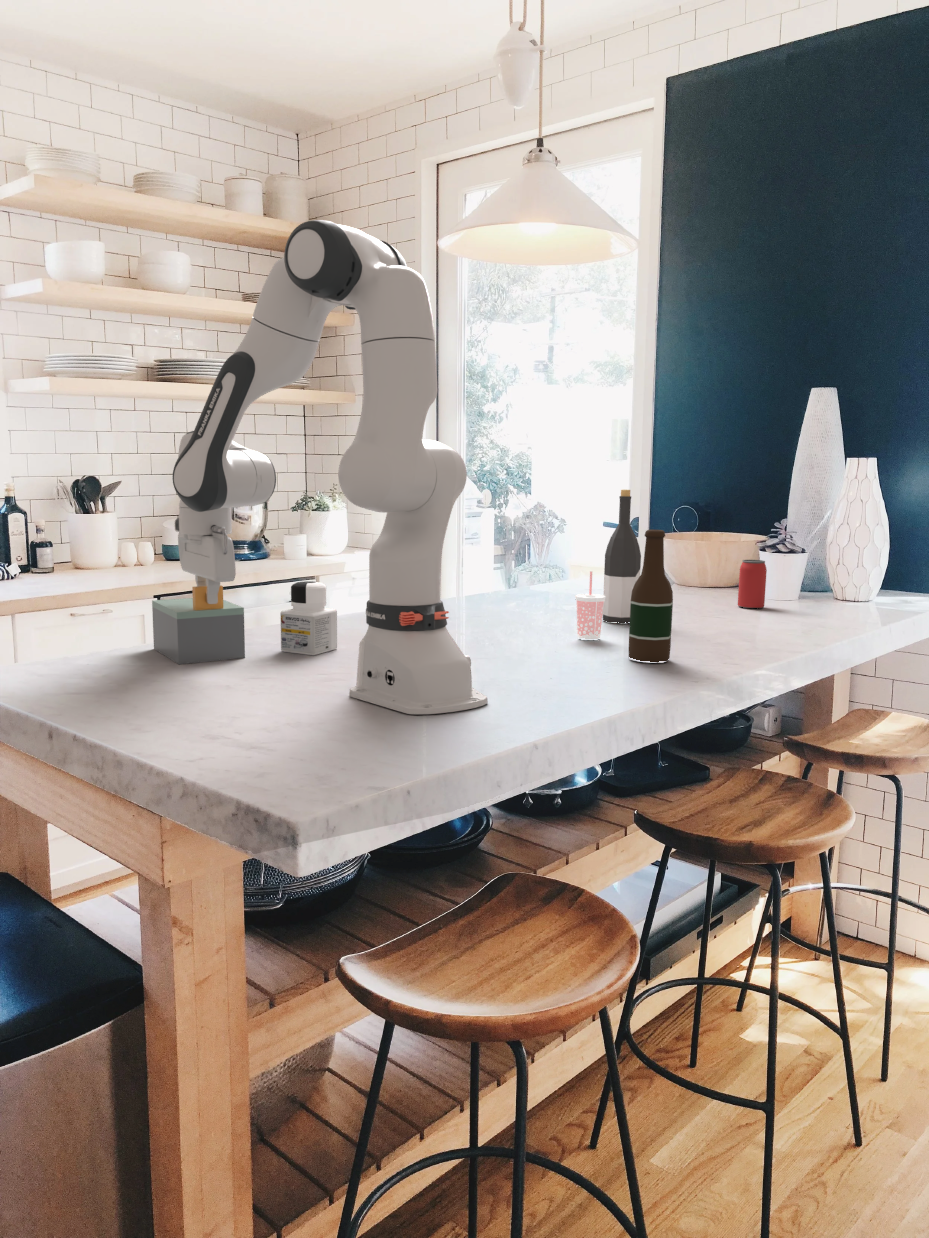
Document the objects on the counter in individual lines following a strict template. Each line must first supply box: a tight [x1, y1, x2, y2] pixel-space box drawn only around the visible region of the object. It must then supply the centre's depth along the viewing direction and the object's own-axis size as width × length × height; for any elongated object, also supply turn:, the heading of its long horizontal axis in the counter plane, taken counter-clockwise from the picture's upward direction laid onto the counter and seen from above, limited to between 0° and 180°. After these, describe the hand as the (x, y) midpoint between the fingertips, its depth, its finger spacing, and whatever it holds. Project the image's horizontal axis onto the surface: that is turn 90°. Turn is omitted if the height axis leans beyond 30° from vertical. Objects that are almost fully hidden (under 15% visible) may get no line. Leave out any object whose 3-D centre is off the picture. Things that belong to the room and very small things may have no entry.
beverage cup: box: [574, 571, 605, 639], centre depth 197 cm, size 6×6×14 cm
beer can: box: [737, 559, 767, 610], centre depth 245 cm, size 7×7×12 cm
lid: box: [151, 584, 245, 619], centre depth 176 cm, size 16×12×6 cm
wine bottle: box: [602, 489, 642, 623], centre depth 219 cm, size 8×8×30 cm
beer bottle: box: [628, 529, 674, 662], centre depth 176 cm, size 8×8×24 cm
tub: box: [151, 606, 246, 665], centre depth 177 cm, size 16×12×8 cm
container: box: [280, 580, 338, 656], centre depth 181 cm, size 8×8×13 cm
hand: (208, 602), depth 171 cm, fingers open, 2 cm apart
